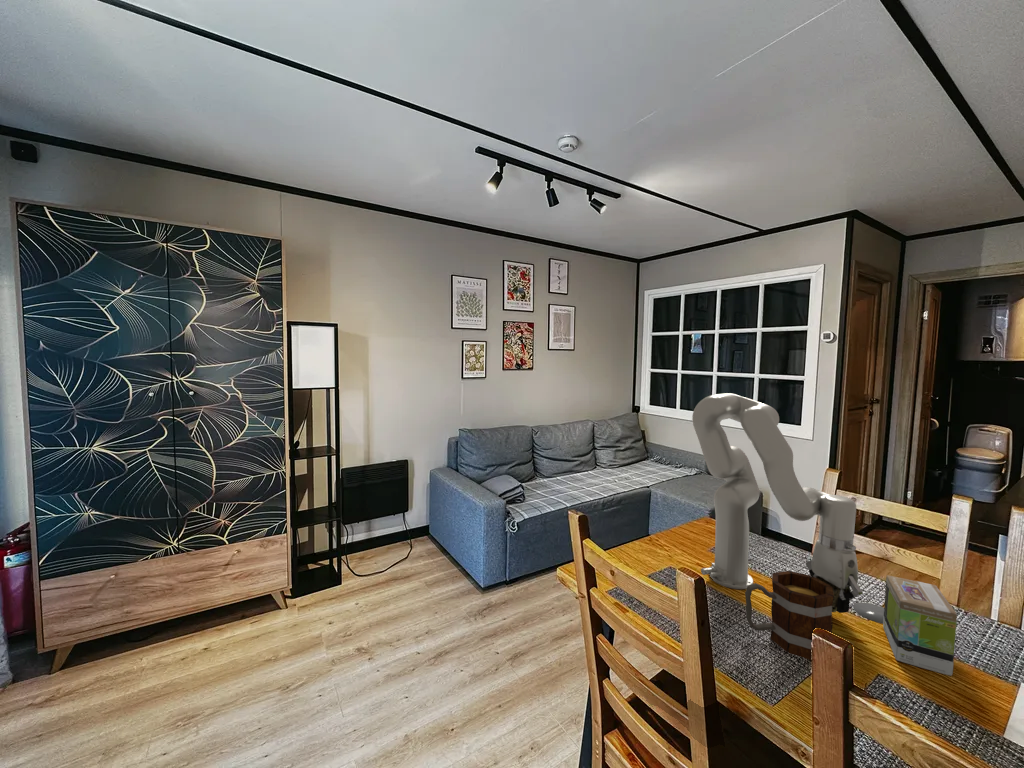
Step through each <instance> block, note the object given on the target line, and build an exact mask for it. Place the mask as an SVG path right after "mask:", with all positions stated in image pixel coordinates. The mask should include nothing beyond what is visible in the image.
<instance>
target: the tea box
mask: <svg viewBox="0 0 1024 768" xmlns="http://www.w3.org/2000/svg"><path fill="white" fill-rule="evenodd" d="M885 579H886V580H885V591H884V603H883V604H884V606H883V608H884V618H883V625H882V627H883V630H884V633H885V635H886V637H887V639H888V640H887V641H888V643H889V646H890V648H891V650H892V653H893V656H894V658H895V660H896V661H898V662H902V663H904V664H908V665H912V666H915V667H918V668H921V669H925V670H929V671H931V672H932V671H933V672H936V673H939V674H943V675H947V676H951V677H952V676H953V673H954V672H953V671H954V660H955V659H954V658H955V649H956V648H955V645H956V644H955V643H956V634H957V625H958V624H957V622H958V613H957V612H956V611H955V608H953V606H952V605H951V604H950V602H949V601H948V600H947V598H946V597H945V595H944V594H943V593H942V591H941V590H940V589H939V588H938V586H937V585H936V584H931V583H926V582H923V581H917V580H911V579H908V578H903V577H900V576H899V577H897V576H893V575H889V574H887V575H886V578H885Z"/></svg>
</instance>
